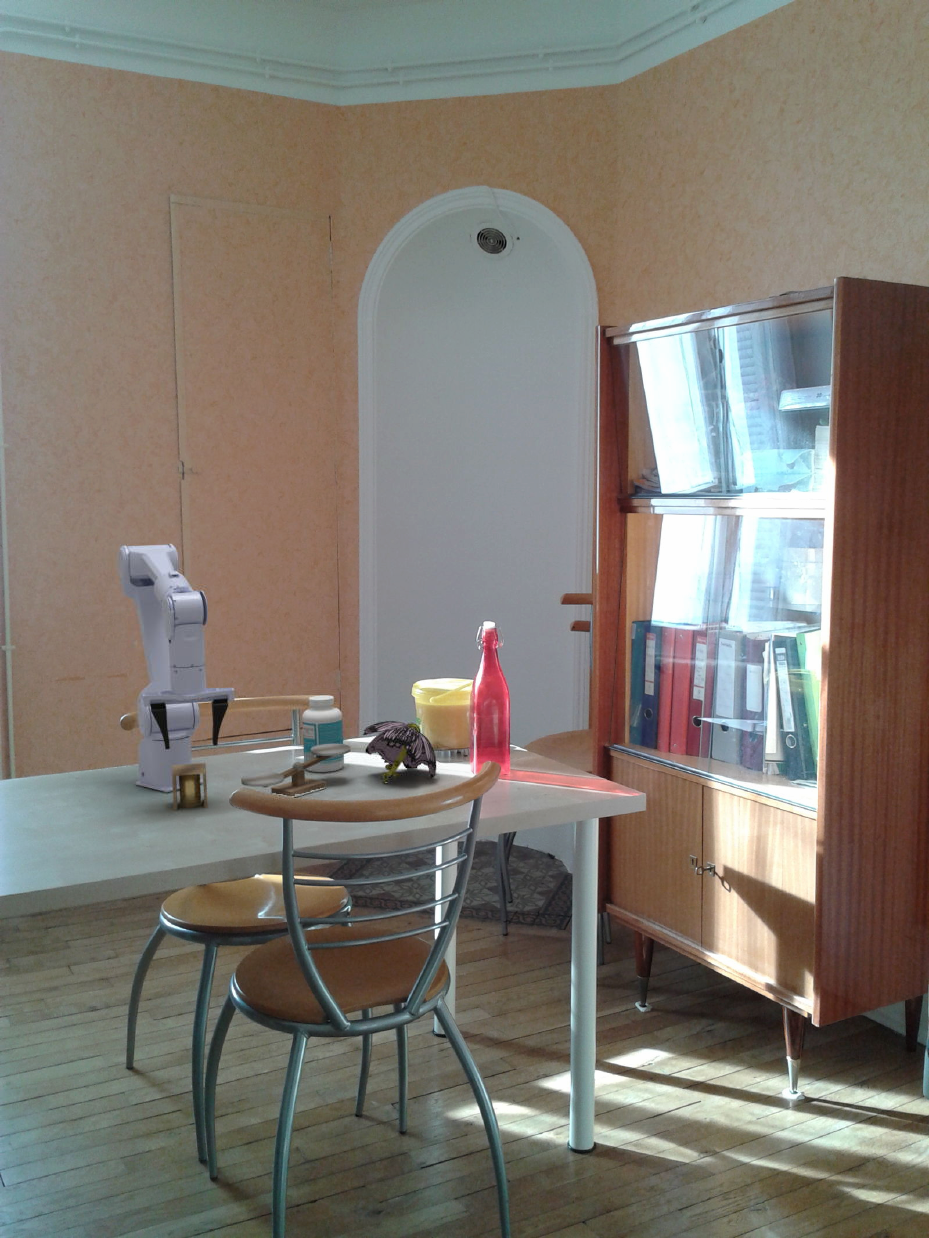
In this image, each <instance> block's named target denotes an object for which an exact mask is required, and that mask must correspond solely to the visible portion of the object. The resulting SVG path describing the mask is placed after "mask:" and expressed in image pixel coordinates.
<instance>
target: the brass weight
mask: <svg viewBox="0 0 929 1238" xmlns="http://www.w3.org/2000/svg"><path fill="white" fill-rule="evenodd" d="M200 780H201V774H193V775H180V776H179V789H178V790H179V805H180V807H181V808H184V809H185V808H196V807H199V806H201V805H202V794H201V793H202V792H201V790H202V789H201V783H200Z"/></svg>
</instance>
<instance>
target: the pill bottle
mask: <svg viewBox="0 0 929 1238" xmlns="http://www.w3.org/2000/svg"><path fill="white" fill-rule="evenodd" d="M308 705H309V708H307V709H306V710H305V711H304V712H303V713H302V716H301V721H302V723H301V724H302V742H303V743H302V744H303V745H302V746H303V763H304V762H306V761H308V760H310V759H312V758H314V757H317V756H318V755H314V754H312V753H311V748H312V747H314V746H317V745H322V744H344V730H343V729H344V727H343V713H342V711H341V710H340V709H339V708H337V707H335V706H334V705H335V697H334V696H333V695H314V696H310V697H309V698H308ZM344 766H345V754H343V755H336V756H332V757H330V758H328V759H325V760H323V761H321V762H319V763H317V764H315V765H313V766H311V767H309V768H306V769H305V770H307V771H310V772H313V773H329V771H330V772H334V771H338V770H340V769H342V768H343V767H344Z"/></svg>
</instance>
